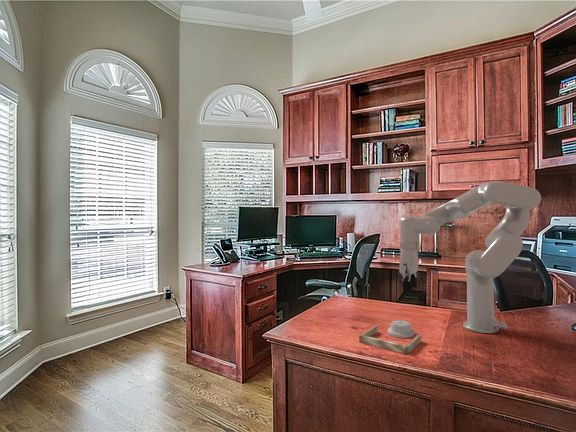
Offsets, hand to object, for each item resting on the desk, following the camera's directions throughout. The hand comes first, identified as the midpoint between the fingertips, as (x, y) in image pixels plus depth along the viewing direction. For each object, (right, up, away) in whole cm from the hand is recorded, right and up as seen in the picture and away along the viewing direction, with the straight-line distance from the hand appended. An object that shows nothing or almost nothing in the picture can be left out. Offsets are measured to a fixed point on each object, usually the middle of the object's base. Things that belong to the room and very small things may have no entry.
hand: (409, 288), depth 143 cm
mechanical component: (-7, -16, -8) cm, 20 cm away
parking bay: (-13, -16, -17) cm, 27 cm away
